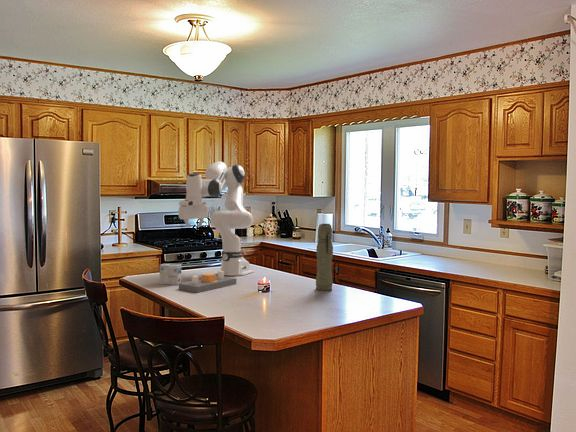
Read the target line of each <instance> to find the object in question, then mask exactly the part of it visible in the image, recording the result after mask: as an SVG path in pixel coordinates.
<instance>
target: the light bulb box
mask: <svg viewBox="0 0 576 432" xmlns="http://www.w3.org/2000/svg"><path fill="white" fill-rule="evenodd" d="M179 283H182V264H181V263H162V264H159V285H173V286H174V285H175V286H177V285H178V286H179Z"/></svg>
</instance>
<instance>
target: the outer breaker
mask: <svg viewBox="0 0 576 432" xmlns="http://www.w3.org/2000/svg"><path fill="white" fill-rule="evenodd" d="M198 280H199V275H191V281H192V284H198Z"/></svg>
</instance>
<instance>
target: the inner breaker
mask: <svg viewBox="0 0 576 432" xmlns="http://www.w3.org/2000/svg"><path fill="white" fill-rule="evenodd" d="M217 276H218V279H224V277H225V275H224V271H220V270H218V271H217Z"/></svg>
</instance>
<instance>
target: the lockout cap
mask: <svg viewBox="0 0 576 432" xmlns="http://www.w3.org/2000/svg"><path fill="white" fill-rule="evenodd" d="M216 276H217V275H216V274H215V273H212V272H211V273H209V272H207V273H202V274H201V277H200V278H201V281H204V282H211V281H216Z"/></svg>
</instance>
